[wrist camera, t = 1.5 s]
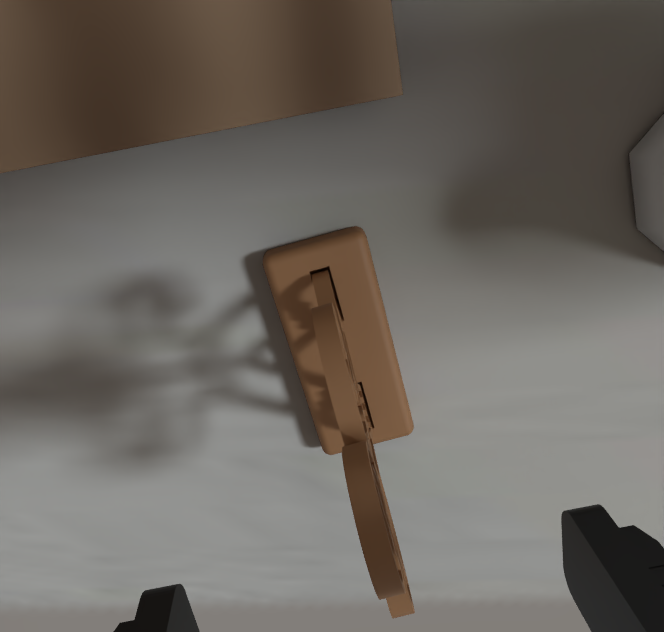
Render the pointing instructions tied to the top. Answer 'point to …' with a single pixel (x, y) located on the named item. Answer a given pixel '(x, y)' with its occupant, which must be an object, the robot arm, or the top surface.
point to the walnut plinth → (179, 69)
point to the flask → (649, 183)
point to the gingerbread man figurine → (347, 379)
